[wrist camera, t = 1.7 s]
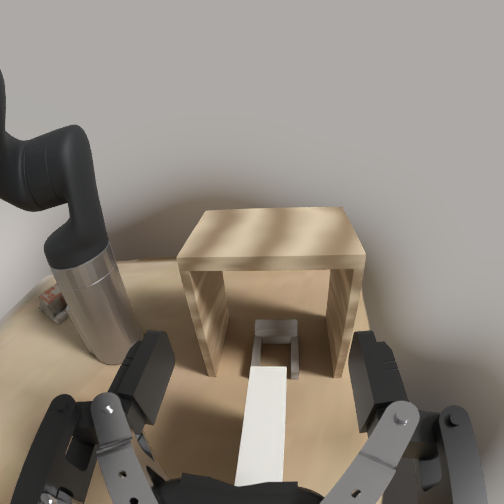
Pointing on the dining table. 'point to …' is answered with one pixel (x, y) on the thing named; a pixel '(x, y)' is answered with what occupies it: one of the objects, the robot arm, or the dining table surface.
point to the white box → (263, 427)
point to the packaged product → (54, 304)
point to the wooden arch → (271, 258)
